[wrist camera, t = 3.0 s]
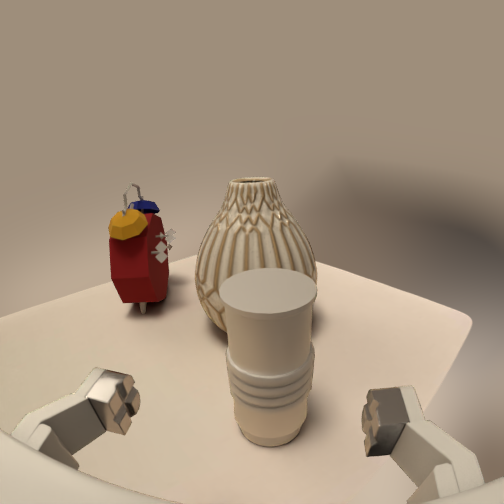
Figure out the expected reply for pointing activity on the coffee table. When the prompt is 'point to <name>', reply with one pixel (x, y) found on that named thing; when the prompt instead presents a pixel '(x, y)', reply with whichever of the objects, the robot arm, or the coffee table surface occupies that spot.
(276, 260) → the vase
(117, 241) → the alarm clock
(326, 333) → the coffee table surface
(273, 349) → the white travel cup
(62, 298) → the coffee table surface
